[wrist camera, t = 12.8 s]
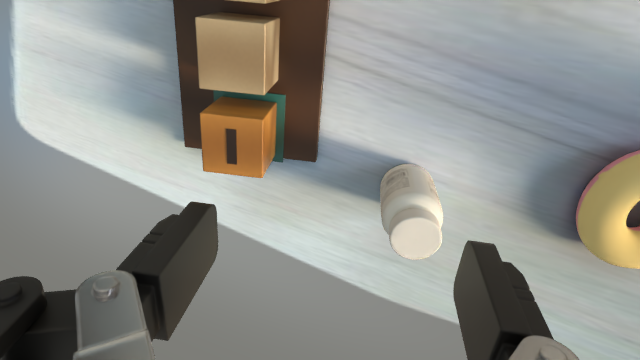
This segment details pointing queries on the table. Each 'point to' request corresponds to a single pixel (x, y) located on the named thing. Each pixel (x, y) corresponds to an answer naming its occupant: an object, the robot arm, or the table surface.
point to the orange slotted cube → (238, 136)
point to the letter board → (292, 67)
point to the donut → (612, 212)
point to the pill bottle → (411, 211)
